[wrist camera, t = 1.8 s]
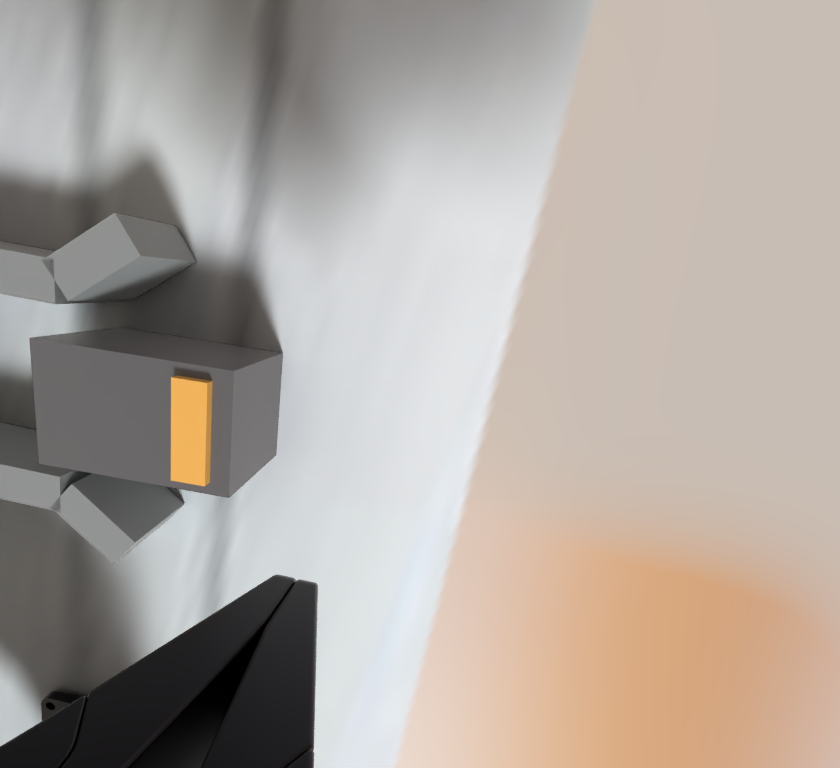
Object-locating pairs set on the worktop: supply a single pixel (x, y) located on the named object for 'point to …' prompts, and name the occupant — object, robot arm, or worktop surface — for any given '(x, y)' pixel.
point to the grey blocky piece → (88, 283)
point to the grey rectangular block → (156, 407)
